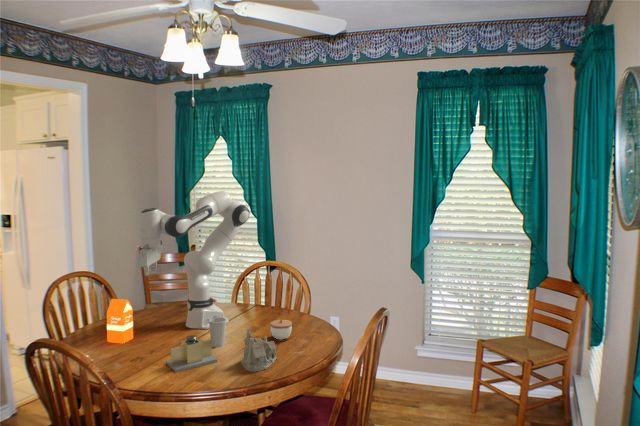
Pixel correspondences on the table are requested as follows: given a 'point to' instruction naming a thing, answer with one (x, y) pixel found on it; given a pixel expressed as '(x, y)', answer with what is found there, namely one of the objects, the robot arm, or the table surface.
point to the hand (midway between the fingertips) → (150, 273)
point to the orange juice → (119, 321)
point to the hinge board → (185, 366)
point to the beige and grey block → (191, 352)
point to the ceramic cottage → (258, 353)
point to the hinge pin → (191, 339)
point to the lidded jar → (281, 328)
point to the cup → (217, 331)
